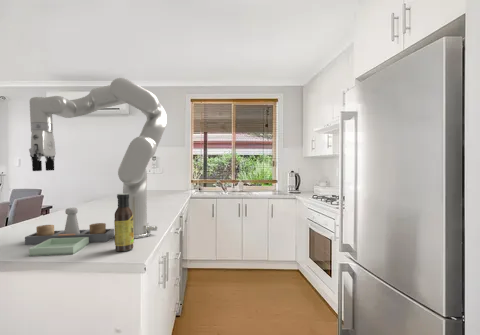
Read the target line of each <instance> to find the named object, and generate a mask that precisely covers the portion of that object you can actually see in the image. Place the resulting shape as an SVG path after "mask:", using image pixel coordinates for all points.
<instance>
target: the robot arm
mask: <svg viewBox="0 0 480 335" xmlns="http://www.w3.org/2000/svg"><path fill="white" fill-rule="evenodd" d="M124 104H128V105H130V106H132V107H134V108H135V109H137V110H139V111H140V112H141V113H143V115H144V116H146V120H145V123H144V124H143V127H142V130H141V132H140V134H139V135H138V136H136V137H134V138H133V139H132V141H130V143H129V144H128V146H127V149H126V150H125V152H124V153H125V154H124V156H123V158H122V160H121V162H120V164H119V167H118V170H117V176H118V178H119V180H120V182H122V183H123V184H122V185H123V187H122V194H129V207H130V209H131V210H132V213H133V231H134V232H133V233H134V239H140V238H145V237H149V236H150V235H152V232H157V231H158V225H150V224H149V222H148V212H147V209H148V206H147V205H148V204H147V200H148V199H147V198H148V197H147V196H148V195H147V185H148V184H147V183H148V181H147V180H148V171H147V167H148V165H149V162H150V161H151V159H152V158H153V157H154V156H155V155H156V152H157V148H158V146H159V144H160V141H161V139H162V136H163V135H164V132H165V130H166V127H167V122H168V118H167V116H168V115H167V112H166V110H165V108H164V106H163V105H162V104H161V102H160V101H159V99H158V97H157V95H155V94H154V93H153V92H151V91H150V90H148V89H146V88H144V87H142V86H140V85H138V84H137V83H135V82H133V81H131V80H129V79H127V78H125V77H117V78H115V79H113V80H112V81H111V82H110V84H109V85H104V86H100V87H99V86H98V87H95V88H92V89H91V90H90V91H89V93H88V94H87V95H85V96H82V97H79V98H75V99H70V100H69V99H68V98H66V97H64V96H61V95H52V96H46V97H45V96H44V97H43V96H33V97H31V98H30V99H29V117H30V120H29V121H30V132H31V136H30V148H29V149H28V151H29V156H30V160H31V165H32V166H31V167H32V172H42V170H43V166H42V164H43V162H42V160H41V159H42V157H44V159H45V162H44V163H45V164H44V165H45V171H49V172H50V171H55V156H56V143H55V142H56V141H55V138H54V133H53V132H54V126H53V125H54V124H53V115H57V116H60V117H62V118H66V119H73V118H77V117H81V116H86V115H89V114H91V113H94V112H97V111H99V110H102V109H106V108H111V107H116V106H121V105H124Z"/></svg>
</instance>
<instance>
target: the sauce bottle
mask: <svg viewBox="0 0 480 335" xmlns="http://www.w3.org/2000/svg"><path fill="white" fill-rule="evenodd" d="M116 198H117V208H116V210H115V212H114V222H113V223H114V246H115V251H116V252H121V253H122V252H127V251H131V250H133V248H134V243H135V242H134V241H135V240H134V239H135V238H134V233H133V232H134V231H133V213H132V210H131V209H130V207H129V194H123V193H117V194H116Z"/></svg>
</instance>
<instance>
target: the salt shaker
mask: <svg viewBox="0 0 480 335" xmlns="http://www.w3.org/2000/svg"><path fill="white" fill-rule="evenodd" d="M65 214H66V215H67V216H66V220H65V225H64V234H76V235H78V234H80V230H81V229H80V226H79V222H78V218H77V214H78V208H77V207H68V208H66V209H65Z"/></svg>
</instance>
